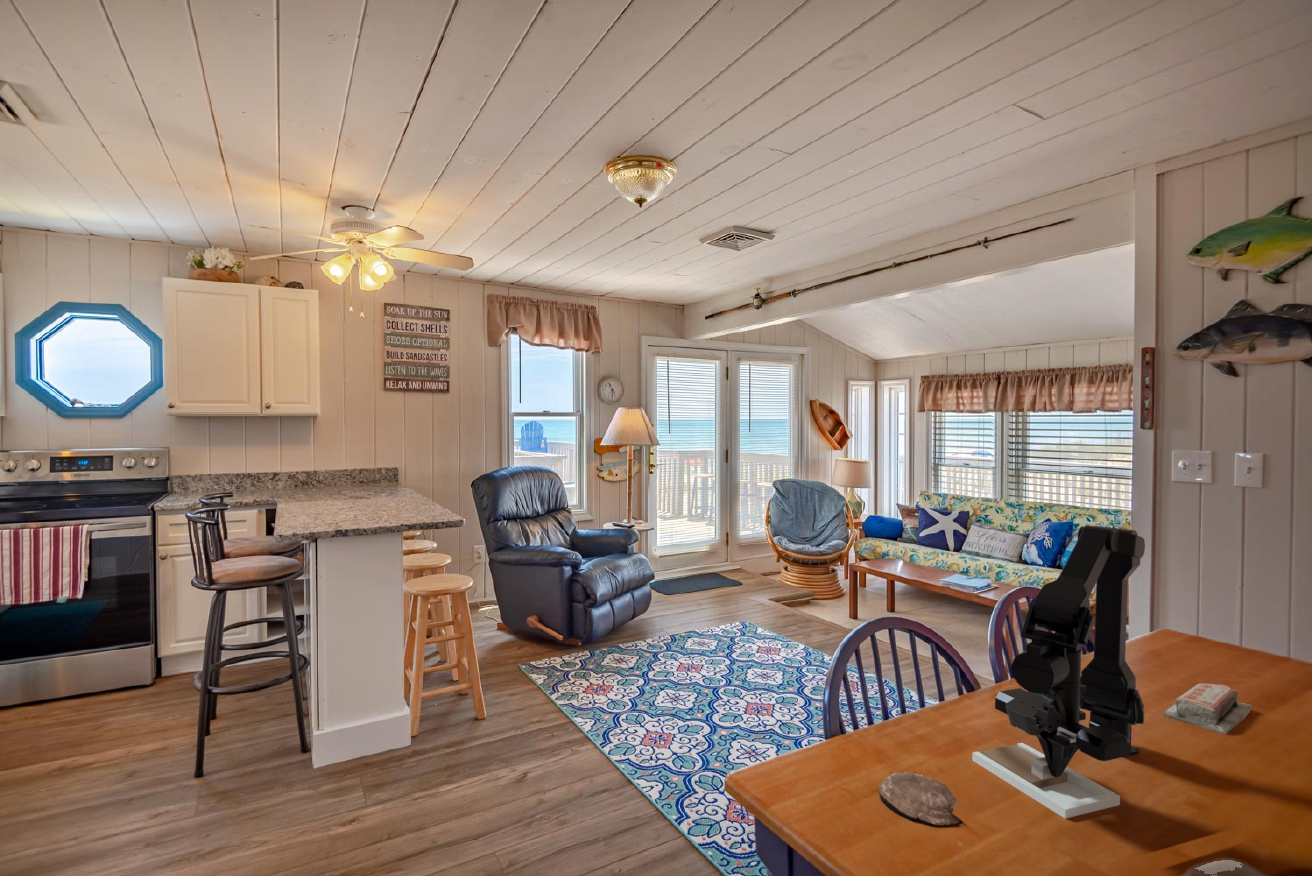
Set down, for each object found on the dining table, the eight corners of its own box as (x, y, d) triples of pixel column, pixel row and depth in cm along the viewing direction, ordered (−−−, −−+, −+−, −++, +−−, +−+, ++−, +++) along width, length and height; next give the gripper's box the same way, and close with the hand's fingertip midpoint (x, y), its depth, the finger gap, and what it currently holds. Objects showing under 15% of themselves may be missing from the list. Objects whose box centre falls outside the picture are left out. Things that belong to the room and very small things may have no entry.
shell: (922, 838, 93) (922, 813, 93) (862, 790, 104) (863, 768, 104) (983, 821, 97) (984, 797, 97) (919, 776, 109) (920, 755, 109)
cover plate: (1013, 751, 114) (1014, 732, 114) (1067, 781, 104) (1068, 760, 104) (979, 758, 111) (980, 738, 111) (1031, 790, 102) (1031, 768, 102)
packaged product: (1228, 712, 124) (1163, 694, 132) (1227, 737, 124) (1162, 718, 132) (1253, 689, 135) (1192, 674, 143) (1252, 713, 135) (1191, 696, 143)
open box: (1021, 758, 114) (1022, 742, 114) (1119, 814, 98) (1120, 796, 98) (972, 769, 111) (972, 752, 111) (1064, 828, 95) (1065, 809, 94)
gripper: (970, 661, 108) (967, 755, 108) (1077, 708, 90) (1074, 820, 91) (1021, 653, 111) (1019, 745, 112) (1134, 697, 94) (1130, 805, 94)
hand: (1055, 776), depth 102 cm, fingers closed
